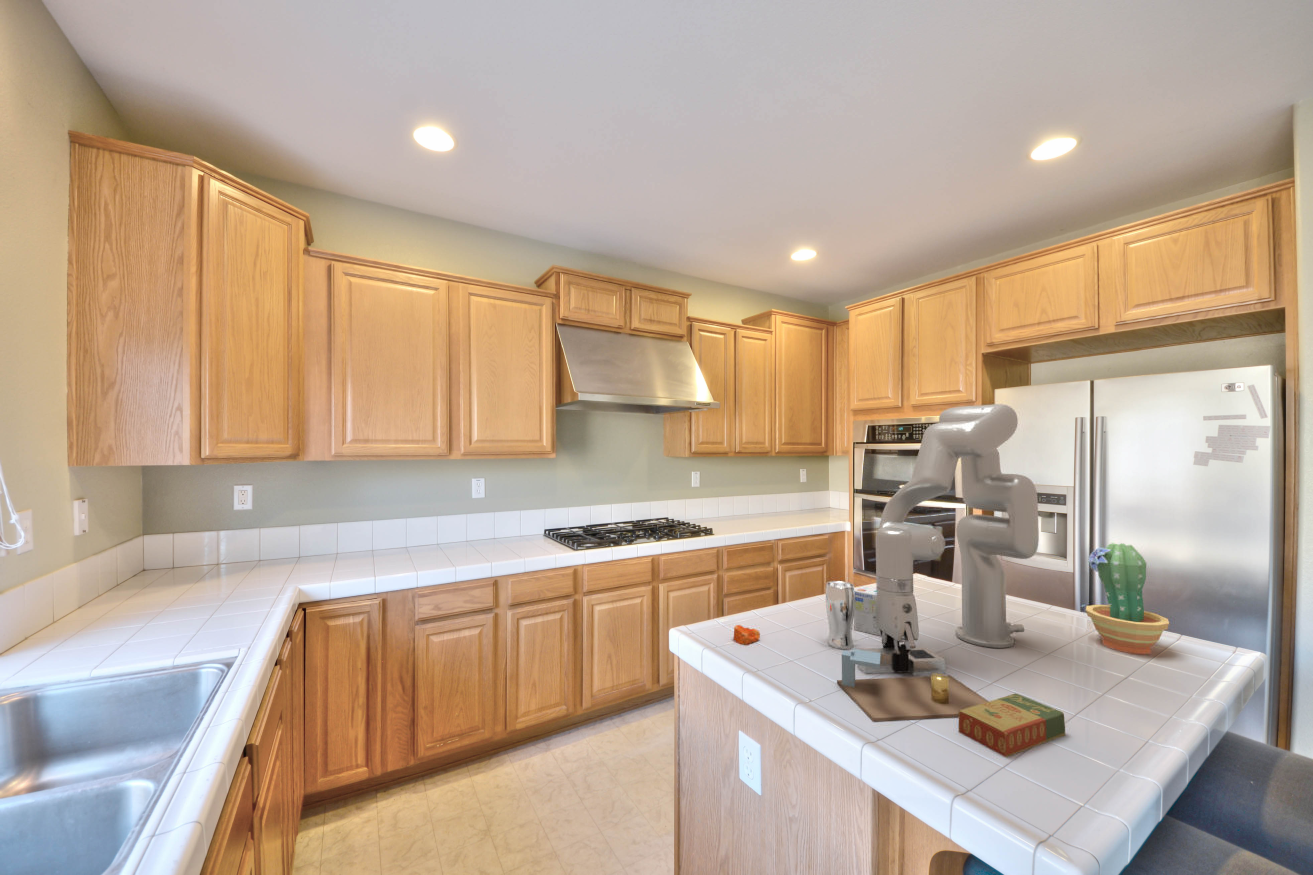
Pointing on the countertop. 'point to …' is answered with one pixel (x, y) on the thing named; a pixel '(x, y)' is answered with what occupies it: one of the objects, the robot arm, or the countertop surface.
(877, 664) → the bracket
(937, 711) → the board
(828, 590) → the beer glass
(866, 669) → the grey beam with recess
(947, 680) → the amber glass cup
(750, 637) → the rock
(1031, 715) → the carton
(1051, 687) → the countertop surface
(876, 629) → the light bulb box
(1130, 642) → the potted cactus
